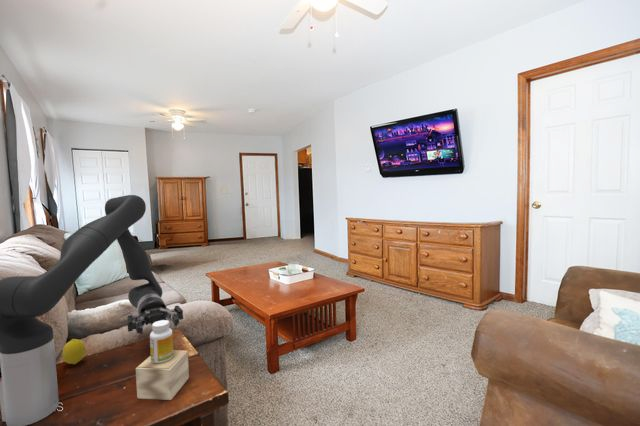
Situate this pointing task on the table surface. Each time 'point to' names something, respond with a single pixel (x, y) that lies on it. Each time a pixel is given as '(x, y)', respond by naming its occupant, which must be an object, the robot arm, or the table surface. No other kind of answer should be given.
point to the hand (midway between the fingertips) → (159, 326)
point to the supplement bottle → (161, 342)
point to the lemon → (73, 351)
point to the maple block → (162, 377)
